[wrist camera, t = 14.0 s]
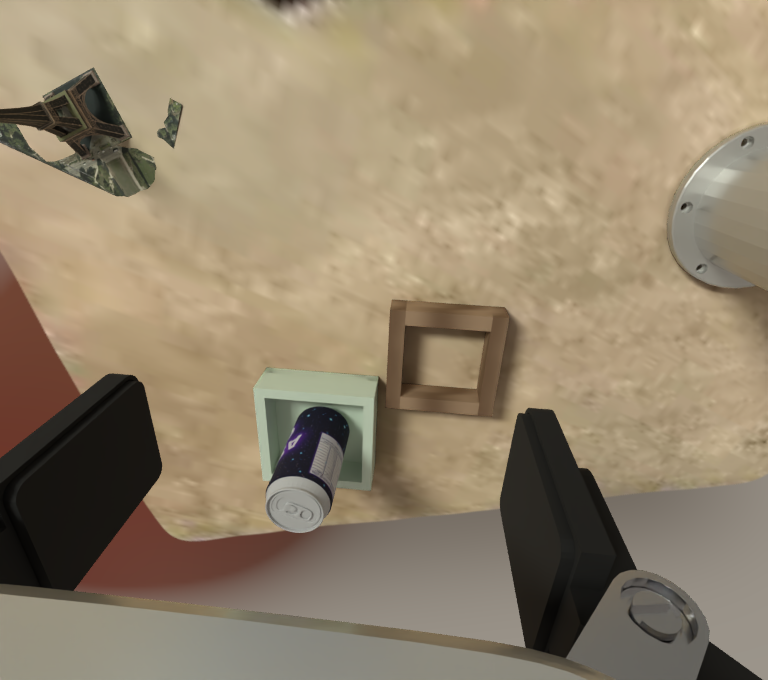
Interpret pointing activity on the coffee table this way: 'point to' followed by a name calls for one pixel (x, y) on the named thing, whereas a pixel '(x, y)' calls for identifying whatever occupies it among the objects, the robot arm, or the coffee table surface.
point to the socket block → (451, 318)
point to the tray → (310, 389)
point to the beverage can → (308, 470)
